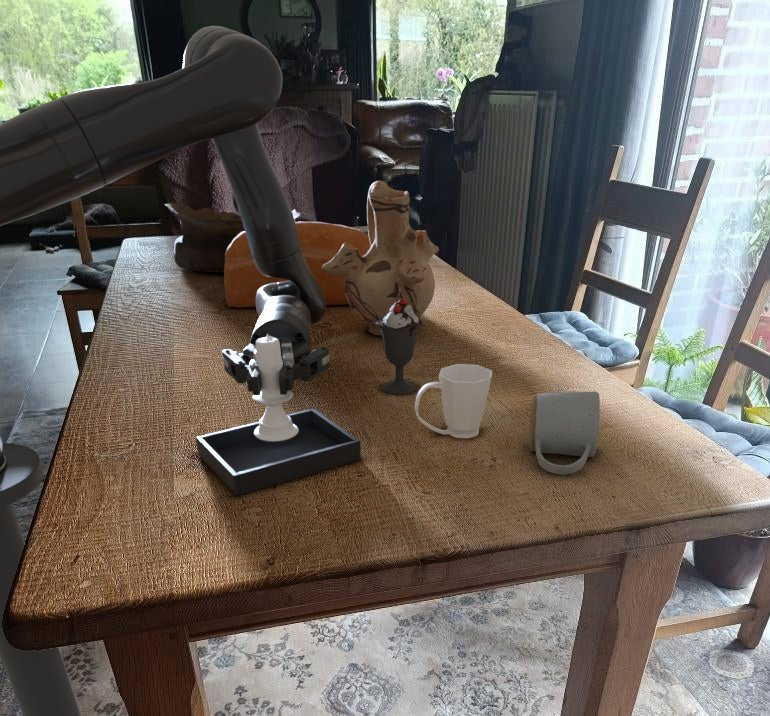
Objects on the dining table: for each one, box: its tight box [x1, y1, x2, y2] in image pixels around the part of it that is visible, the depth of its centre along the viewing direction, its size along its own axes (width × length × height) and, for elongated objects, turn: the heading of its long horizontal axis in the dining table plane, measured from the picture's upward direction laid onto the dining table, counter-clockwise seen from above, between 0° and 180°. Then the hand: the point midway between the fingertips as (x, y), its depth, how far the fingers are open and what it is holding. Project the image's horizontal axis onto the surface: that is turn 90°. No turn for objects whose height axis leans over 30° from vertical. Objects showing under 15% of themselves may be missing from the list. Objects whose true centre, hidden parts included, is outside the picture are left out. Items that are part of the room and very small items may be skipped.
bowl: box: [164, 202, 301, 273], centre depth 179 cm, size 34×33×15 cm
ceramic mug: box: [527, 391, 601, 476], centre depth 84 cm, size 11×8×8 cm
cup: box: [414, 363, 493, 439], centre depth 90 cm, size 7×10×8 cm
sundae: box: [376, 290, 424, 395], centre depth 102 cm, size 7×7×15 cm
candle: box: [252, 334, 299, 441], centre depth 82 cm, size 5×5×12 cm
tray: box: [195, 408, 362, 497], centre depth 86 cm, size 16×12×2 cm
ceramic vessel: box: [322, 180, 440, 337], centre depth 126 cm, size 18×19×25 cm
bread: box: [223, 221, 371, 309], centre depth 148 cm, size 14×33×16 cm, turn 94°
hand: (269, 386), depth 79 cm, fingers closed on candle, 2 cm apart
